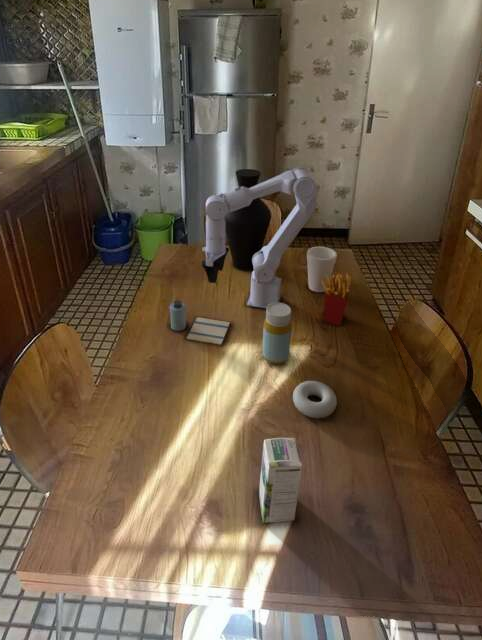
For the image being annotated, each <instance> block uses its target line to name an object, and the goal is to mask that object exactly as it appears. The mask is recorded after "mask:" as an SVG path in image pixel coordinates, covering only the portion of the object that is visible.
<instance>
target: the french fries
mask: <svg viewBox="0 0 482 640" xmlns="http://www.w3.org/2000/svg"><path fill="white" fill-rule="evenodd" d="M326 277H327V279H328V283H329V284H328V286H327V284H326V282H325V280H324V279H323V280H322V281H321V282H322V283H323V285H324V287H325V290H326V291H325V292H324V297H323V298H324V300H323V301H324V302H323V303H324V304H323V323H328V324H331V325H335V326H341V325H342V322H343V319H344V314H345V311H346V306H347V303H348V298H349V294H350V291H351V285H352V275H350V273H345V277H346V282H344V280H343V274H341V273H337V274H336V275H334V274H332V275H331V278H330V277H329V276H328V275H327V276H326ZM334 279H335V280H334Z"/></svg>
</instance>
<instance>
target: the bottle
mask: <svg viewBox="0 0 482 640" xmlns="http://www.w3.org/2000/svg"><path fill="white" fill-rule="evenodd" d="M265 309H266V310H265V319H264V322H263V327H262V328H263V331H262V345H261V346H262V347H261V355H262V358H263V360H264V361H265V362H267V363H269V364H272V365H281V364H283V363H285V362H287V361H288V360H289V357H290V356H289V355H290V346H291V336H292V322H291V317H292V308H291V307H290V306H289V305H288V304H286V303H284V302H279V303H271V304H269V305H268V306H267V308H265Z"/></svg>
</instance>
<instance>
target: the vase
mask: <svg viewBox="0 0 482 640" xmlns="http://www.w3.org/2000/svg"><path fill="white" fill-rule="evenodd" d="M234 173H235V176H236V181H237V186H239V187H242V186H244V187H246V188H251V187H253V186H255V185H258V184H259V180H260V177H261V171H260V170H257V169H253V168H242V169H238V170H235V172H234ZM271 221H272V211H271V208H270V207H269V206H268V205H267V204H266V202H264V201H263V199H262V198H261V197H259V198H256V199H253V200H252V202H251V204H250V205H249V206H246V207H243V208H241V209H238V210H235V211H233V212H230V213H227V214H226V216H225V222H226V229H225V237H226V240H227V243H228V244H227V245H228V248H229V252H230V256H231V260H232V265H233V267H234V268H236V269H237V270H239V271H252V270H254V267H253V264H252V257H253V256H254V254H256V253H257V252H259V251H260V250H261V249H262V248H263V247H264V244H265V240H266V236H267V233H268V231H269V227H270V224H271Z"/></svg>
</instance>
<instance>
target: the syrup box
mask: <svg viewBox="0 0 482 640" xmlns="http://www.w3.org/2000/svg"><path fill="white" fill-rule="evenodd" d="M300 454H301V453H300V450H299V446H298V443H297V438H296V437H275V438H266V439H264V440H263V446H262V459H261V468H260V477H259V491H258V496H259V504H260V505H259V506H260V512H261V518H262V523H263V524H268V523H269V524H270V523H279V522H290V521H291V522H292V521H295V520H296V519H295V518H296V512H297V504H298V497H299V492H300V491H299V489H300V484H301V476H302V470H303V463H302V460H301V455H300Z"/></svg>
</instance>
